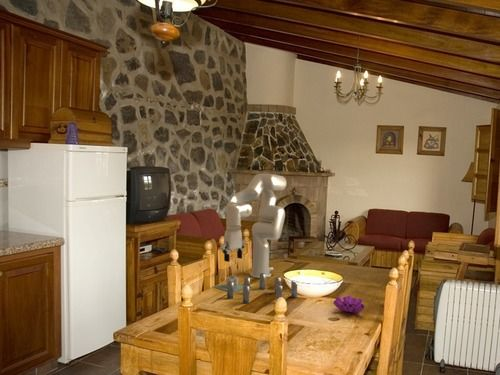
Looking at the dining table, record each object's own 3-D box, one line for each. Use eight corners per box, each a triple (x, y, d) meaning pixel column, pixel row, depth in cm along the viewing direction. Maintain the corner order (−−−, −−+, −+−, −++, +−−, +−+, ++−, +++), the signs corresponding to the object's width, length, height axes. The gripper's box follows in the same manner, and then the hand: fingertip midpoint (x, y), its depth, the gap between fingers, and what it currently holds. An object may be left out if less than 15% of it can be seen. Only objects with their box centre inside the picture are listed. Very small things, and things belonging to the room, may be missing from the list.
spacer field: (261, 287, 248) (262, 272, 248) (298, 297, 232) (298, 281, 232) (225, 297, 228) (226, 281, 228) (262, 309, 212) (263, 292, 212)
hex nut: (224, 286, 247) (224, 277, 247) (231, 284, 251) (231, 275, 251) (232, 289, 243) (232, 279, 243) (240, 287, 247) (240, 277, 247)
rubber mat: (231, 282, 257) (232, 282, 257) (250, 287, 248) (250, 287, 247) (213, 287, 247) (213, 286, 247) (232, 292, 237) (232, 292, 237)
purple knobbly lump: (344, 323, 205) (332, 305, 206) (345, 312, 220) (333, 295, 221) (366, 310, 203) (353, 292, 204) (365, 300, 218) (353, 283, 218)
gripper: (239, 225, 254) (239, 255, 256) (216, 228, 241) (216, 261, 243) (249, 226, 249) (249, 258, 251) (226, 230, 236) (226, 263, 238)
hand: (233, 259), depth 247 cm, fingers open, 9 cm apart
